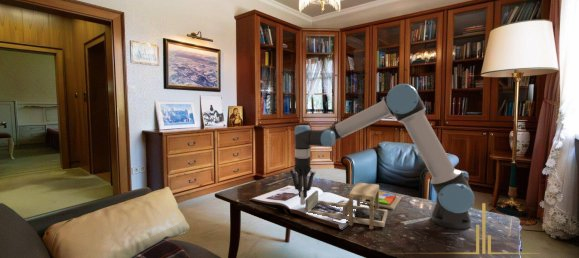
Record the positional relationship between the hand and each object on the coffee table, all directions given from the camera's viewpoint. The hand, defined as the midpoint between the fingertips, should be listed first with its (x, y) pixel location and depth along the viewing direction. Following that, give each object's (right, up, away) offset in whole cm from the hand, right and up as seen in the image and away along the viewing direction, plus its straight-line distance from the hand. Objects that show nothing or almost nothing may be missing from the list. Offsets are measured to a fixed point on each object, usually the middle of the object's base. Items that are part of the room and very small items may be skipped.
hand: (302, 203), depth 139 cm
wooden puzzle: (+42, -2, +11) cm, 44 cm away
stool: (+27, -4, -12) cm, 30 cm away
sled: (+20, -2, -9) cm, 22 cm away
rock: (+28, -4, -14) cm, 32 cm away
